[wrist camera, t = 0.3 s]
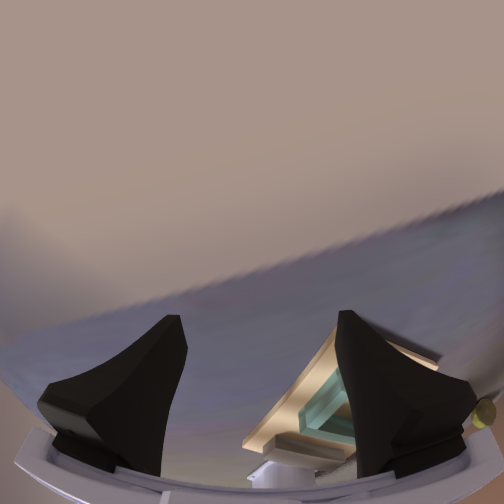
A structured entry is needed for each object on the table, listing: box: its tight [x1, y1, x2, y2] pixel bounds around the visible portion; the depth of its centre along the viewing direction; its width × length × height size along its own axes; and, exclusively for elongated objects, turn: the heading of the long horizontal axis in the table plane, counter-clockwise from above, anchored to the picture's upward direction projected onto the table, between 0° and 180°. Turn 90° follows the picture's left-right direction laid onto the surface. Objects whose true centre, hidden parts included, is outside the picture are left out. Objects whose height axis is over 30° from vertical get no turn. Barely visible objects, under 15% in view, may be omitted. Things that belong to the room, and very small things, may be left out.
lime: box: [471, 398, 496, 429], centre depth 23 cm, size 4×5×5 cm
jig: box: [242, 325, 438, 472], centre depth 23 cm, size 20×14×4 cm
